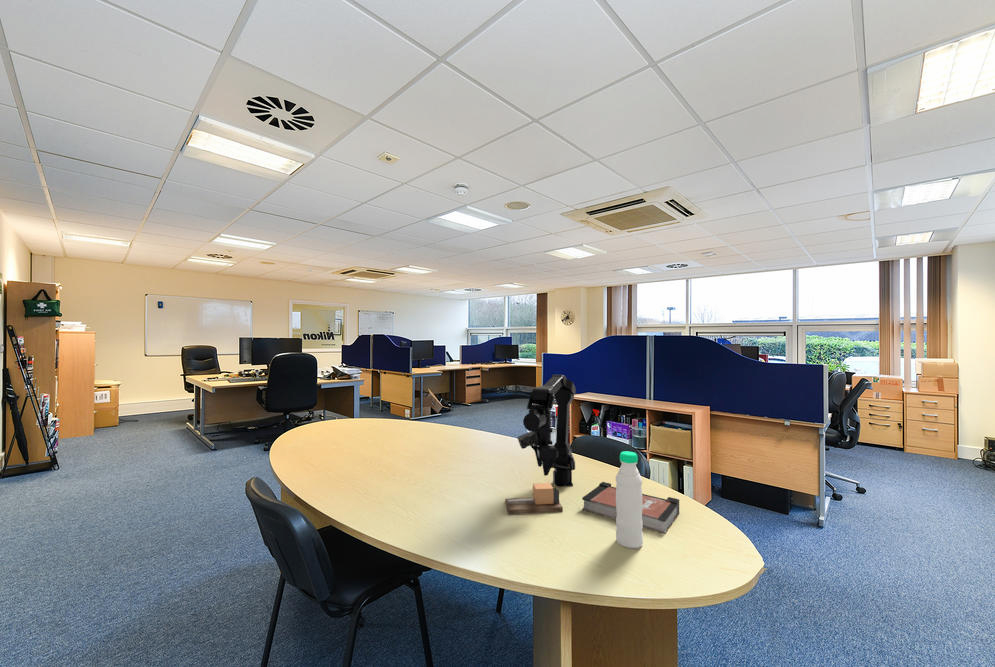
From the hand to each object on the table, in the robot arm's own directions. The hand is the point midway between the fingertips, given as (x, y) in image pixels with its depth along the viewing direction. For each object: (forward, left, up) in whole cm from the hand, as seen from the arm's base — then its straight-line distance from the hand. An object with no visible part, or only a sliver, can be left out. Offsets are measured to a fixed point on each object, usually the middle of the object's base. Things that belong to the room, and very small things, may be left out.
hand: (542, 470), depth 134 cm
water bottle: (-18, +27, -12) cm, 35 cm away
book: (-27, +8, -13) cm, 31 cm away
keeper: (0, +1, -10) cm, 10 cm away
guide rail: (+4, +1, -10) cm, 11 cm away
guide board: (+4, +1, -12) cm, 12 cm away
